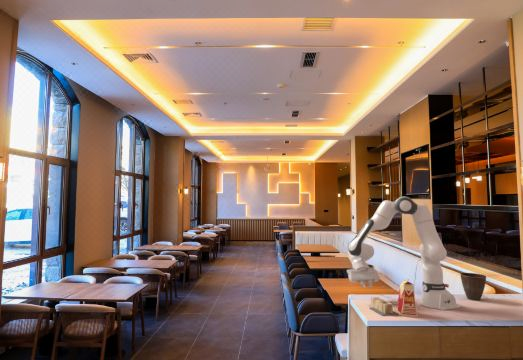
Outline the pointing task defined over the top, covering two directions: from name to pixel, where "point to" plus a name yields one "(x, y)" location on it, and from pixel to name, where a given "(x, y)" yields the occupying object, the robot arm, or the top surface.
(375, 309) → the mat
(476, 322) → the top surface
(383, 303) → the block
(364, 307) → the top surface
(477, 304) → the top surface
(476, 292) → the plant pot
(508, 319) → the top surface
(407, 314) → the red figurine
